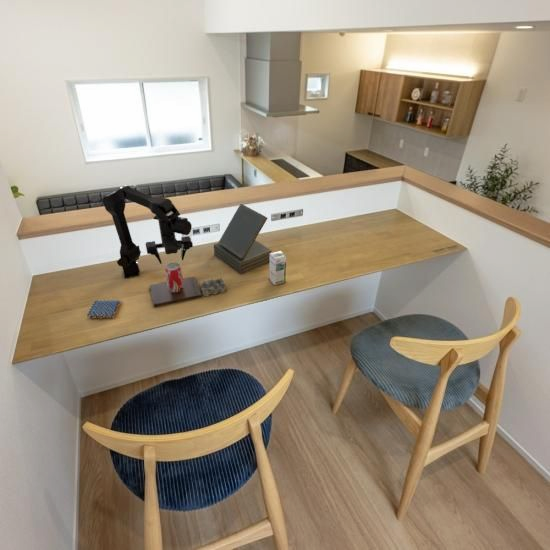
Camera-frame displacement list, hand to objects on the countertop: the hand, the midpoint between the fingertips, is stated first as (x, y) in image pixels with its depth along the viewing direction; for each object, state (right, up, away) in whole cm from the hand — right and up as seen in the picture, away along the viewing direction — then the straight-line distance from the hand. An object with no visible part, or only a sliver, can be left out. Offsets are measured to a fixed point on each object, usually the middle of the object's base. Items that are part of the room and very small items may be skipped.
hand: (171, 261), depth 158 cm
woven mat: (-25, -21, -9) cm, 34 cm away
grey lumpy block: (+17, -13, +5) cm, 22 cm away
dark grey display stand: (+28, +3, +29) cm, 41 cm away
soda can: (+1, -12, +3) cm, 13 cm away
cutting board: (+1, -13, +3) cm, 14 cm away
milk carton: (+46, -9, +13) cm, 49 cm away
